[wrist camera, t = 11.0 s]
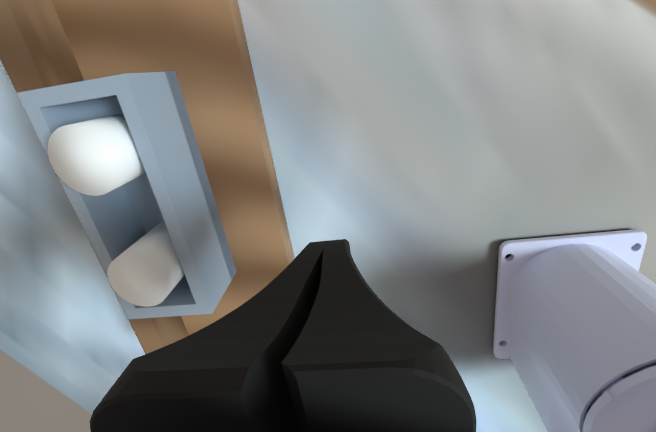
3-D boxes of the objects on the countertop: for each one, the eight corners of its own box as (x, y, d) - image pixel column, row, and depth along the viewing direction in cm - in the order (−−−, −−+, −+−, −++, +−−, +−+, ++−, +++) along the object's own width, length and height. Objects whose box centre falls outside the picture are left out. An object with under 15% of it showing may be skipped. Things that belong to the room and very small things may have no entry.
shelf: (307, 315, 25) (298, 359, 21) (180, 323, 26) (151, 366, 22) (225, -52, 16) (186, -85, 12) (41, -11, 17) (-43, -30, 14)
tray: (236, 271, 22) (204, 326, 17) (165, 277, 22) (116, 332, 18) (175, 71, 17) (107, 74, 12) (86, 86, 18) (-8, 94, 13)
